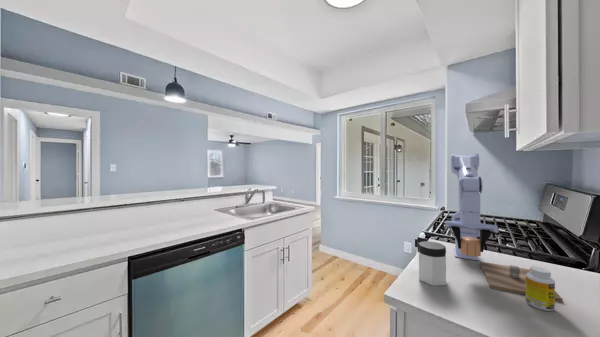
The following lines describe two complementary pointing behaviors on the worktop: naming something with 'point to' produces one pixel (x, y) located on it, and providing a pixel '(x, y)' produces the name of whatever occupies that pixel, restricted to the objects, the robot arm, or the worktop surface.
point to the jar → (432, 263)
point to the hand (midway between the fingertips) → (470, 249)
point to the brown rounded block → (470, 246)
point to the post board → (508, 278)
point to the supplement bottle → (540, 288)
